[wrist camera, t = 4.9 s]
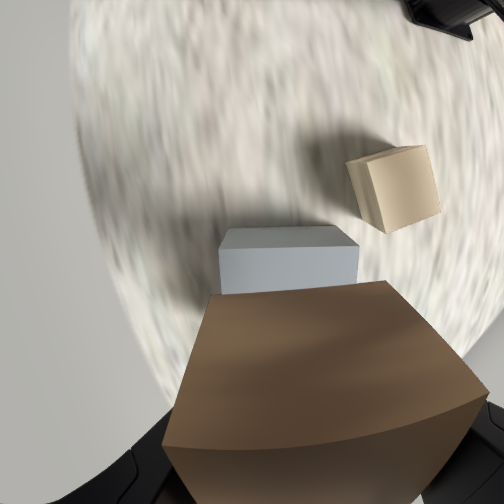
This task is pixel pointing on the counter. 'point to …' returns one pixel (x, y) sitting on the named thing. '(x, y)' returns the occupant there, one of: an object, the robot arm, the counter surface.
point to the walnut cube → (318, 399)
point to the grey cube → (286, 258)
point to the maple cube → (394, 187)
